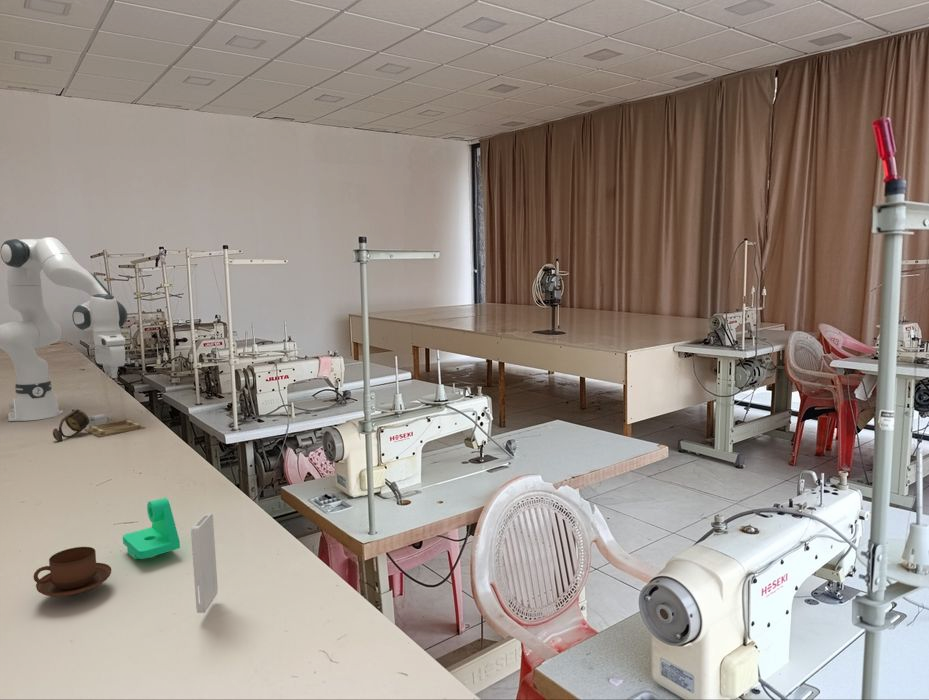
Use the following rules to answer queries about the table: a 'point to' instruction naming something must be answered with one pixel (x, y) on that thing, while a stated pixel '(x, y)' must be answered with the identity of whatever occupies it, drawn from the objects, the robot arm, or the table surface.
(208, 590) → the phone case
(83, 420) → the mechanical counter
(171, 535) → the camera mount
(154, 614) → the table surface
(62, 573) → the cup and saucer
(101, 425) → the picture frame
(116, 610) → the table surface
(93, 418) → the usb wall charger
